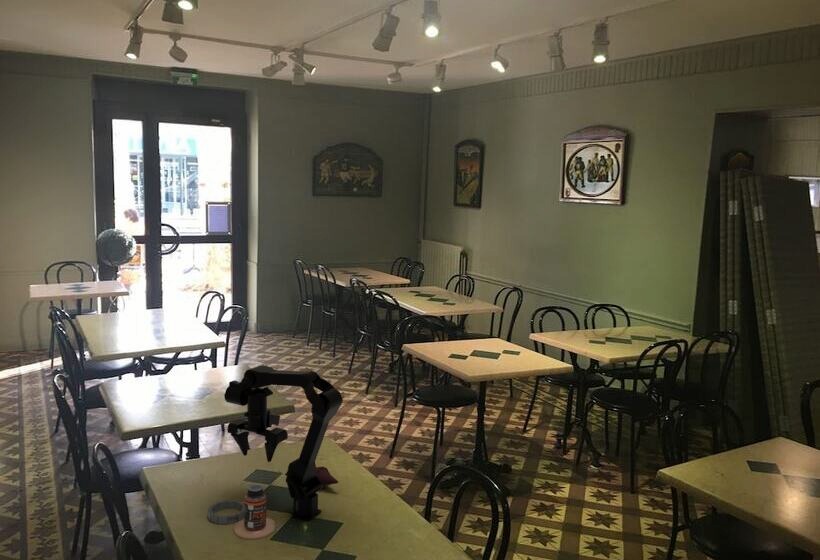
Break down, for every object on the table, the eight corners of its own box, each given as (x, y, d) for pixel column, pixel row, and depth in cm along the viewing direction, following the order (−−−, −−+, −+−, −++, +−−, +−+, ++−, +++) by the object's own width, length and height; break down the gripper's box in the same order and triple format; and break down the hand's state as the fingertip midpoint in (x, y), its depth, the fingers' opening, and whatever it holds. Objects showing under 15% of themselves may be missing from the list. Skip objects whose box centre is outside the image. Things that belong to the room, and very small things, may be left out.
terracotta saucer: (283, 525, 184) (283, 522, 184) (256, 543, 175) (256, 540, 175) (253, 515, 190) (253, 512, 189) (225, 532, 180) (225, 529, 180)
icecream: (347, 469, 207) (313, 461, 216) (331, 471, 201) (296, 462, 210) (344, 492, 206) (310, 483, 215) (328, 494, 200) (294, 485, 209)
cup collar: (253, 511, 192) (253, 505, 191) (228, 527, 182) (228, 520, 182) (226, 503, 196) (226, 496, 196) (200, 518, 187) (200, 511, 187)
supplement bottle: (253, 534, 178) (253, 494, 176) (239, 526, 181) (239, 488, 180) (270, 525, 183) (270, 487, 181) (256, 518, 186) (256, 480, 185)
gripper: (299, 406, 198) (298, 455, 200) (250, 395, 207) (251, 443, 209) (275, 417, 188) (275, 469, 191) (225, 405, 197) (226, 455, 199)
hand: (257, 458), depth 197 cm, fingers open, 9 cm apart
